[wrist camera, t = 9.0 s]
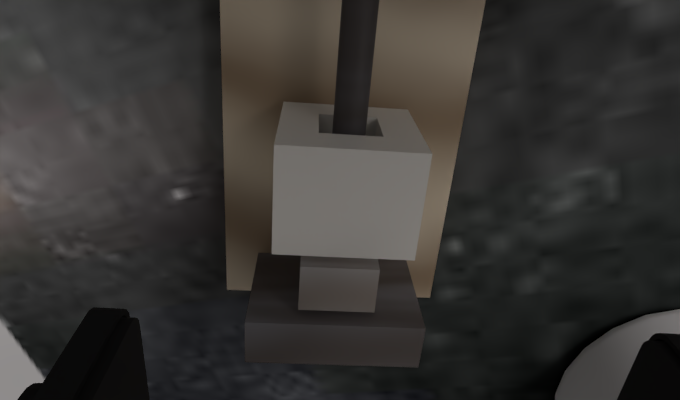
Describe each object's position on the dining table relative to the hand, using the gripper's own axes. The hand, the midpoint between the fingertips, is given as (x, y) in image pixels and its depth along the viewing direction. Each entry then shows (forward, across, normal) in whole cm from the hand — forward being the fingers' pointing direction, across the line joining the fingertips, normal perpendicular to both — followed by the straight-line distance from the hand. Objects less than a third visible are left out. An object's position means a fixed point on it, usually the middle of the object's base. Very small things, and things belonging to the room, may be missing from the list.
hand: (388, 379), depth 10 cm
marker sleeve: (+13, 0, +1) cm, 13 cm away
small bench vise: (+15, 0, -2) cm, 15 cm away
